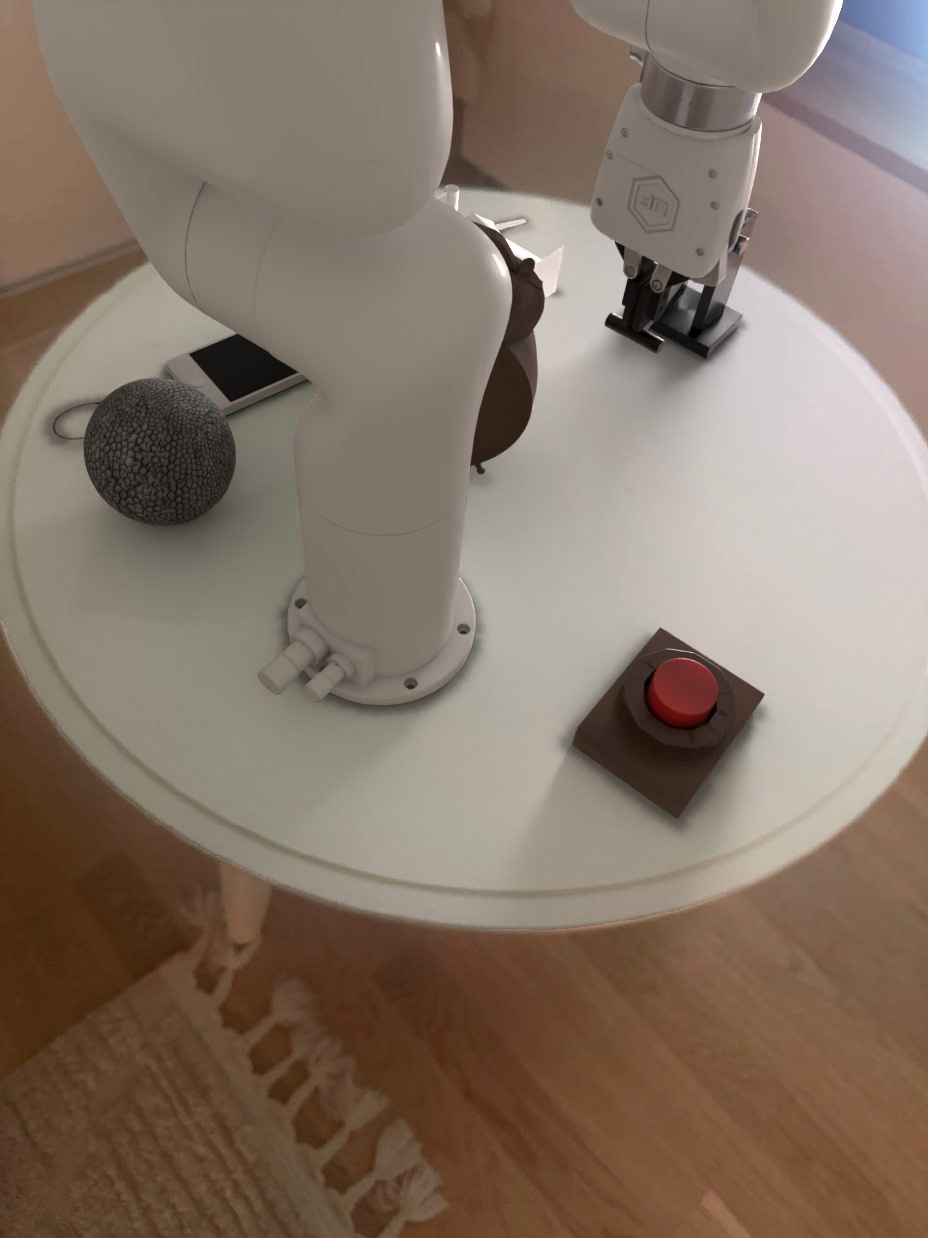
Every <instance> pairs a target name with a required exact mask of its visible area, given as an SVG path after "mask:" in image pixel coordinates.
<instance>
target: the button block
mask: <svg viewBox="0 0 928 1238" xmlns="http://www.w3.org/2000/svg"><path fill="white" fill-rule="evenodd" d="M676 658H685V659H690V660H693V661H696V662H698V663H700V664H702V665H703V666H704V667H706V668H707V669H708V670H709V671H710V672H711V673H712V675H713V676H714V678H715V680H716V683H717V686H718V697H717V700H716V703H715V704H714V706H713V708H712V709H711V711H710V713H709V715H708V716H707V718H706V719H705V720H704V721H703V722H702V723H700V724H699V725H696V726H694V727H690V728H678V727H673V726H670V725H668V724H666V723H664V722H663V721H661V720H660V719H659V718H658V717H656V716H655V714H654V713H653V712H652V710H651V709H650V706H649V704H648V700H647V690H648V687H649V684H650V682H651V680H652V678H653V676H654V673H655V671H656V670H657V668H658V667H659V666H660V665H661V664H663V663H664V662H666V661H668V660H671V659H676ZM765 695H766V694H765V692H762V691H761V690H760V689H758V688H757V687H755V686H753V685H752V684H750V683H748V682H747V681H746V680H744V679H743V678H741V677H740V676H738V675H737V674H735V673H733V672H731V671H730V670H729V669H728V668H726V667H724V666H723V665H721V664H720V663H718V662H716V661H715V660H713V659H712V658H710V657H709V656H707V655H705V654H704V653H702V652H701V651H699V650H698V649H696V648H695V647H694V646H691V645H690V644H688V643H687V642H685V641H684V640H682V639H681V638H679V637H677V636H675V635H674V634H673V633H671V632H670V631H668V630H667V629H665V628H663V627H662V626H660V627H659V628H658V629H657V630H656V631H655V633H654V634H652V636H651V637H650V639H649V640H648V641H647V642H646V644H645V645H644V646H643V648H642V649H641V650H640V651H639V652H638V653H637V655H636V656H635V657H634V658H633V660H631V662H630V663H629V664H628V665H627V667H626V668H625V669H624V670H623V672H621V674H620V675H619V676H618V678H617V679H616V680H615V681H614V683H613V684H612V685H611V686H610V687H609V689H608V690H607V691H606V692H605V694H604V695H603V696H602V697H601V699H600V700H598V702H597V703H596V704H595V706H594V707H593V708H592V709H591V710H590V712H589V713H588V714H587V715H586V716H585V718H584V719H583V720H582V722H581V723H580V724H579V725H578V726H577V727H576V730H575V733H574V736H573V739H572V742H571V745H572V746H574V747H575V748H577V749H578V750H579V751H581V752H582V753H583V754H585V755H586V756H588V757H589V758H590V759H592V760H594V761H595V762H596V763H597V764H599V765H600V766H602V767H603V768H605V769H606V770H607V771H608V772H611V774H613V775H615V776H616V777H617V778H619V779H620V780H621V781H623V782H625V783H626V784H627V785H629V786H630V787H632V788H633V789H634V790H636V791H638V793H640V794H641V795H642V796H645V798H647V799H649V800H650V801H651V802H653V803H654V804H655V805H657V806H658V807H659V808H661V809H662V810H664V811H665V812H667V813H668V814H670V815H671V816H672V817H674V818H675V819H677V820H679V819H680V817H681V816H682V815H683V813H684V812H685V810H686V809H687V808H688V806H689V804H690V803H691V802H692V801H693V799H694V798H695V796H696V794H697V793H698V792H699V790H700V789H701V787H702V786H703V785H704V784H705V782H706V780H707V779H708V778H709V776H710V775H711V773H712V772H713V771H714V769H715V768H716V766H717V765H718V764H719V762H720V761H721V759H722V757H724V755H725V754H726V752H727V751H728V749H729V748H730V746H731V745H732V743H733V742H734V741H735V739H736V738H737V736H738V735H739V734H740V732H741V731H742V729H743V728H744V727H745V725H746V724H747V722H748V721H749V719H750V718H751V717H752V715H753V714H754V712H755V711H756V710H757V708H758V706H759V705H760V703H761V701H762V700H763V699H764V698H765Z"/></svg>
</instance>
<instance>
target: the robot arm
mask: <svg viewBox="0 0 928 1238" xmlns="http://www.w3.org/2000/svg"><path fill="white" fill-rule="evenodd" d="M843 1H844V0H568V2H569V4H570V5H571V7H572V8H573V10H574V11H575V13H576V14H577V15H578V16H579V17H580V18H581V19H582V20H583V21H584V22H586V23H588V24H589V25H590V26H591V27H593V28H594V29H596V30H598V31H600V32H602V33H604V34H606V35H609V36H610V37H613V38H616V39H619V40H621V41H623V42H625V43H628V44H630V45H631V46H630V48H629V53H628V55H629V59H632V60H634V61H636V62H637V64H638V65H639V66H641V72H640V76H639V81H637V82H636V83H634V84H632V85H631V86H630V87H629V88H628V89H627V91H626V93H625V96H624V98H623V100H622V101H621V102H622V103H621V105H620V107H619V109H618V113H617V115H616V117H615V119H614V123H613V126H612V129H611V131H610V134H609V137H608V140H607V142H606V145H605V148H604V152H603V155H602V159H601V162H600V165H599V169H598V172H597V175H596V180H595V184H594V187H593V188H594V189H593V192H592V196H591V202H590V206H589V207H590V208H589V219H590V222H591V223H592V225H593V227H594V228H595V229H596V230H597V231H598V232H600V233H601V234H603V235H604V236H605V237H607V238H608V239H610V240H611V241H614V245H615V247H616V249H617V251H618V253H619V255H620V257H621V260H622V261H623V266H622V271H623V274H624V276H625V277H626V278H627V279H626V283H625V287H624V291H623V295H622V300H621V305H622V306H624V309H623V312H622V316H621V317H622V320H621V323H623V324H624V325H626V326H628V325H632V327H633V329H634V330H635V331H637V332H640V331H641V330H642V329H643V328H644V327H645V326H646V325H647V324H648V323H650V322H651V321H654V322H656V321H657V320H658V319H659V318H660V317H661V316H662V314H663V312H664V310H665V307H666V303H667V300H668V297H669V293H670V290H671V286H674V285H677V284H680V283H682V282H685V281H687V280H688V281H691V282H692V283H695V284H699V285H703V286H704V285H707V286H711V287H715V286H716V285H717V284H718V283H720V282H721V281H722V280H723V279H724V278H725V277H726V270H727V257H728V253H729V252H730V251H731V250H732V249H733V248H734V246H735V244H736V242H737V239H738V237H739V234H740V231H741V228H742V225H743V221H744V218H745V214H746V211H747V209H748V208H749V203H750V199H751V195H752V191H753V186H754V182H755V177H756V172H757V167H758V159H759V153H760V145H761V138H762V137H761V136H762V127H763V126H762V124H763V121H762V118H761V117H760V115H758V114H756V113H757V110H758V107H759V104H760V101H761V98H762V95H763V94H768V93H772V92H777V91H781V90H782V89H784V88H787V87H789V86H790V85H792V84H793V83H795V82H796V81H797V80H798V79H800V78H801V77H802V76H803V75H804V74H805V73H806V72H807V71H808V70H809V69H810V68H811V67H812V66H813V64H814V63H815V61H816V60H817V58H819V56H820V54H821V53H822V52H823V49H824V48H825V46H826V45H827V42H828V40H829V39H830V37H831V34H832V32H833V30H834V26H835V25H836V22H837V20H838V17H839V14H840V11H841V8H842V6H843V5H842V4H843ZM32 9H33V10H32V11H33V19H34V25H35V32H36V37H37V42H38V48H39V51H40V54H41V58H42V61H43V63H44V67H45V70H46V73H47V76H48V78H49V81H50V83H51V86H52V88H53V90H54V92H55V95H56V97H57V99H58V100H59V102H60V104H61V107H62V108H63V110H64V112H65V114H66V116H67V118H68V120H69V122H70V123H71V125H72V127H73V129H74V131H75V132H76V134H77V136H78V138H79V140H80V142H81V143H82V145H83V147H84V148H85V150H86V152H87V154H88V156H89V157H90V160H91V161H92V163H93V166H95V168H96V170H97V172H98V174H99V175H100V178H101V179H102V181H103V182H104V184H105V186H106V188H107V190H108V192H109V193H110V195H111V197H112V199H113V201H114V203H115V204H116V206H117V207H118V209H119V211H120V213H121V214H122V216H123V218H124V220H125V221H126V223H127V225H128V227H129V228H130V230H131V232H132V234H133V235H134V237H135V239H136V240H137V242H138V245H139V246H140V248H141V250H142V251H143V252H144V254H145V257H147V259H148V260H149V262H150V264H151V265H152V266H153V268H154V269H155V271H156V272H157V273H158V275H159V276H160V277H161V278H162V280H163V281H164V282H165V283H166V284H167V286H168V287H169V288H170V289H171V290H172V291H173V292H174V293H176V294H177V296H179V297H180V298H181V299H182V300H184V301H185V302H186V303H188V304H189V305H190V306H192V307H193V308H195V309H196V310H197V311H199V312H201V313H203V314H204V315H206V316H207V317H209V318H210V319H212V320H214V321H215V322H218V323H220V324H221V325H223V326H224V327H225V328H227V329H230V330H232V331H233V333H238V334H239V335H241V336H243V337H244V338H246V339H248V340H250V341H251V342H253V343H255V344H256V345H258V346H260V347H261V348H263V349H265V350H266V351H268V352H269V353H270V354H271V355H272V356H274V357H275V358H276V359H278V360H280V361H281V362H283V363H285V364H286V365H288V366H290V367H291V368H293V369H295V370H296V371H298V372H299V373H300V374H302V375H303V376H304V377H306V378H307V379H306V380H308V381H309V382H310V383H311V384H312V385H313V386H314V387H315V388H316V389H317V390H318V391H319V392H318V393H317V394H316V395H315V396H314V397H313V398H312V399H311V400H310V401H309V402H308V404H307V406H306V407H305V408H304V409H303V412H302V413H301V414H300V416H299V418H298V421H297V424H296V427H295V430H294V433H293V435H294V436H293V443H292V451H293V453H292V455H293V456H292V457H293V468H294V469H293V470H294V477H295V483H296V489H297V490H296V492H297V502H298V511H299V521H300V530H301V541H302V550H303V560H304V568H305V575H304V577H302V579H301V580H300V582H298V584H297V585H296V588H295V590H294V592H293V594H292V596H291V598H290V601H289V605H288V610H287V634H288V640H289V645H288V646H287V647H286V648H285V649H284V650H283V651H282V652H280V653H278V654H277V655H276V656H274V657H273V658H272V659H271V660H270V661H269V662H268V663H267V664H266V665H265V666H263V667H262V668H261V669H260V670H259V671H258V672H257V673H256V674H257V679H258V680H259V682H260V683H261V684H262V685H263V687H264V688H265V689H266V690H268V691H269V692H270V693H271V694H273V695H275V696H280V695H281V694H282V693H283V692H284V691H285V690H286V689H288V688H289V687H290V686H291V685H292V684H293V683H295V681H296V680H297V679H298V678H300V675H301V673H303V672H304V673H305V674H306V675H307V676H308V677H309V678H310V680H309V681H308V682H307V683H306V684H305V685H304V686H303V689H304V692H305V693H306V695H307V697H309V698H310V699H311V700H313V701H314V702H316V703H320V702H322V701H323V699H324V698H325V697H327V696H328V695H329V693H330V694H332V695H335V696H337V697H339V698H342V699H344V700H346V701H350V702H354V703H358V704H362V705H371V706H391V705H401V704H405V703H410V702H413V701H417V700H420V699H423V698H424V697H427V696H428V695H431V694H433V693H435V692H437V691H438V690H440V689H441V688H442V687H444V686H445V685H446V684H448V683H449V682H450V681H451V680H452V679H454V677H455V676H456V675H457V674H458V673H459V672H460V671H461V669H462V668H463V666H464V665H465V663H466V661H467V660H468V658H469V656H470V653H471V650H472V648H473V645H474V642H475V635H476V630H477V629H476V628H477V625H476V624H477V623H476V621H477V620H476V619H477V618H476V615H477V614H476V609H475V605H474V601H473V598H472V596H471V594H470V592H469V590H468V587H467V586H466V584H465V583H464V581H462V579H461V577H460V576H459V572H460V562H461V554H462V547H463V546H462V544H463V536H464V528H465V520H466V519H465V518H466V509H467V502H468V491H469V482H470V481H469V480H470V472H471V471H470V470H471V466H470V463H471V455H472V448H473V441H474V434H475V429H476V424H477V419H478V414H479V409H480V406H481V402H482V398H483V395H484V391H485V388H486V385H487V382H488V379H489V376H490V373H491V371H492V368H493V365H494V362H495V360H496V357H497V354H498V351H499V349H500V346H501V343H502V341H503V338H504V334H505V331H506V327H507V324H508V320H509V315H510V309H511V304H512V284H511V278H510V274H509V271H508V268H507V265H506V263H505V260H504V259H503V257H502V255H501V253H500V251H499V250H498V249H497V247H496V246H495V244H494V243H493V242H492V241H491V240H490V238H489V237H488V236H487V235H486V234H485V233H484V232H483V231H482V230H481V229H480V228H479V227H478V226H476V225H475V224H474V223H473V222H472V221H470V220H469V219H468V218H467V217H466V216H465V215H463V214H462V213H461V212H459V211H458V210H457V211H456V210H455V209H453V208H452V207H450V206H449V205H447V204H445V203H443V202H442V201H440V200H438V199H436V198H437V197H435V196H434V195H435V193H436V191H437V190H438V188H439V187H440V185H441V182H442V179H443V176H444V173H445V170H446V167H447V164H448V161H449V158H450V153H451V147H452V137H453V126H454V103H453V102H454V100H453V99H454V98H453V86H452V76H451V66H450V56H449V46H448V38H447V29H446V22H445V20H446V19H445V11H444V5H443V0H32ZM701 250H702V251H701ZM700 251H701V252H700Z"/></svg>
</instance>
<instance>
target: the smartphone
mask: <svg viewBox="0 0 928 1238" xmlns="http://www.w3.org/2000/svg"><path fill="white" fill-rule="evenodd" d="M165 366H166V371H167V373H168V374H169V375H170V376H171V377H172V379H173V380H176V381H179V382H182V383H185V384H187V385H190V386H192V387H194V388H195V389H197V390H199V391H200V392H202V393H203V394H205V395H206V396H207V397H208V398H210V399H211V400H212V401H213V402H214V403H215V404H216V405H217V406H218V408H219V409H220V410H221V411H222V413H223V415H224V416H225V417H226V416H227V415H230V414H233V413H234V412H237V411H239V410H241V409H244V408H246V407H248V406H251V405H253V404H255V403H257V402H259V401H261V400H264V399H266V398H269V397H271V396H272V395H274V394H277V393H280V392H282V391H284V390H286V389H289V388H291V387H293V386H295V385H297V384H300V383H302V382H305V381H306V380H308V379H307V378H306V377H304V376H303V375H302V374H300V373H299V372H298V371H296V370H295V369H293V368H291V367H290V366H288V365H286V364H285V363H283V362H281V361H280V360H278V359H276V358H275V357H274V356H272V355H271V354H270V353H269V352H268V351H266V350H265V349H263V348H261V347H260V346H258V345H256V344H255V343H253V342H251V341H250V340H248V339H246V338H244V337H243V336H241V335H239V334H238V333H236V332H233V333H231V334H229V335H226V336H224V337H221V338H218V339H216V340H213V341H211V342H208V343H207V344H204V345H202V346H199V347H197V348H194V349H192V350H189V351H187V352H185V353H182V354H180V355H177V356H175V357H173V358H170V359H169V360H167V361H166V362H165Z"/></svg>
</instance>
